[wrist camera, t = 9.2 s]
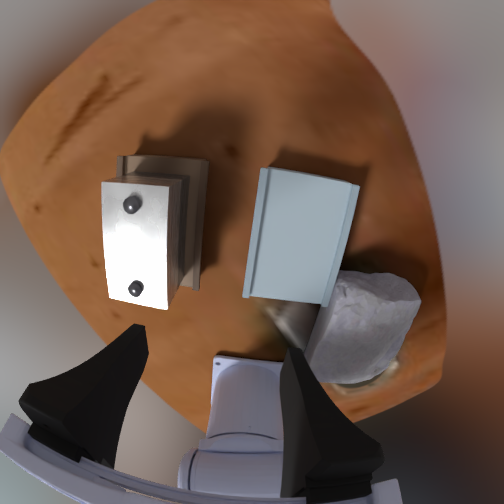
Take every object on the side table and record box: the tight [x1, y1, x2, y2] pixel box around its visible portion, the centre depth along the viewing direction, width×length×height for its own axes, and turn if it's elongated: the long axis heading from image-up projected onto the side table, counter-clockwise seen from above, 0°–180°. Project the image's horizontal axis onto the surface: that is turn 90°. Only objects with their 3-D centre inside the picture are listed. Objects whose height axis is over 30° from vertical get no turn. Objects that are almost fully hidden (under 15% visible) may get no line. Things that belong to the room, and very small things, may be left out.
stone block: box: [304, 270, 421, 383], centre depth 23 cm, size 12×5×10 cm
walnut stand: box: [116, 154, 210, 291], centre depth 20 cm, size 7×10×2 cm
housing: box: [102, 171, 190, 310], centre depth 17 cm, size 8×4×5 cm, turn 172°
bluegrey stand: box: [242, 167, 360, 307], centre depth 20 cm, size 7×10×2 cm
